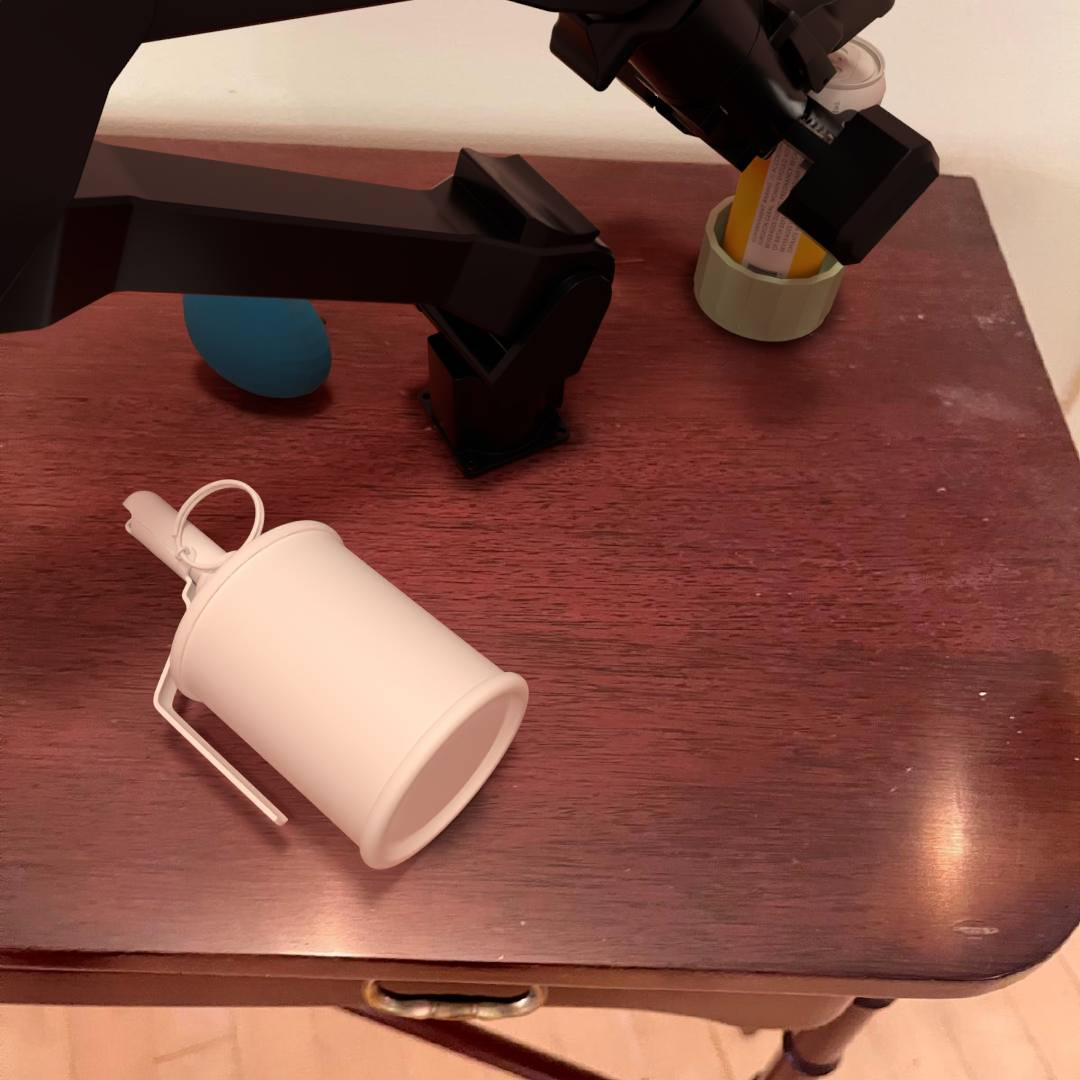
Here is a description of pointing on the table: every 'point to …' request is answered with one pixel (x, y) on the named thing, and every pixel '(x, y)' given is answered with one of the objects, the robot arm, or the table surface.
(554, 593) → the table surface
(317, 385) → the ornament
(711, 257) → the can holder
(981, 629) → the table surface
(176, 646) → the white smoke grenade
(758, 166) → the beer can
